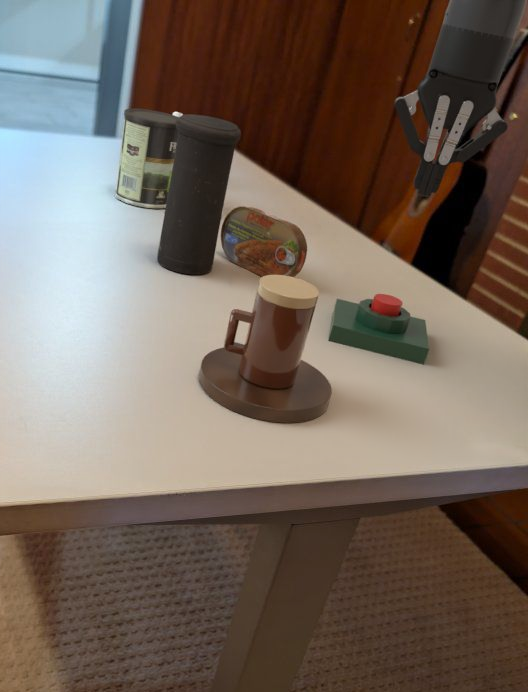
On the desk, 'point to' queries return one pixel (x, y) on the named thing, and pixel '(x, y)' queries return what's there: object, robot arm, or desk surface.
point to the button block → (379, 331)
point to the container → (197, 193)
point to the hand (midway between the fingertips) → (423, 194)
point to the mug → (274, 331)
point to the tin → (263, 242)
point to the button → (386, 305)
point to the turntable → (264, 390)
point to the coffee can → (146, 158)
